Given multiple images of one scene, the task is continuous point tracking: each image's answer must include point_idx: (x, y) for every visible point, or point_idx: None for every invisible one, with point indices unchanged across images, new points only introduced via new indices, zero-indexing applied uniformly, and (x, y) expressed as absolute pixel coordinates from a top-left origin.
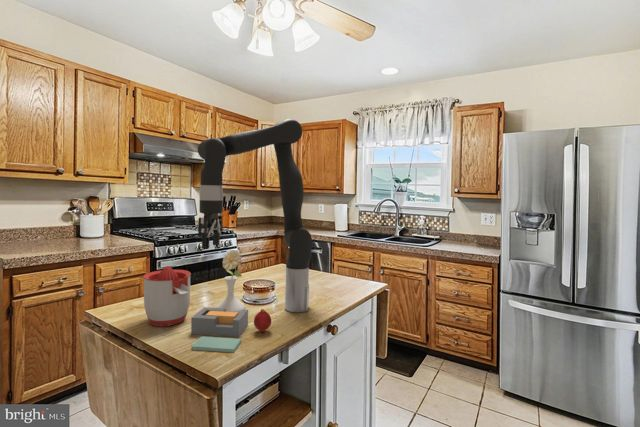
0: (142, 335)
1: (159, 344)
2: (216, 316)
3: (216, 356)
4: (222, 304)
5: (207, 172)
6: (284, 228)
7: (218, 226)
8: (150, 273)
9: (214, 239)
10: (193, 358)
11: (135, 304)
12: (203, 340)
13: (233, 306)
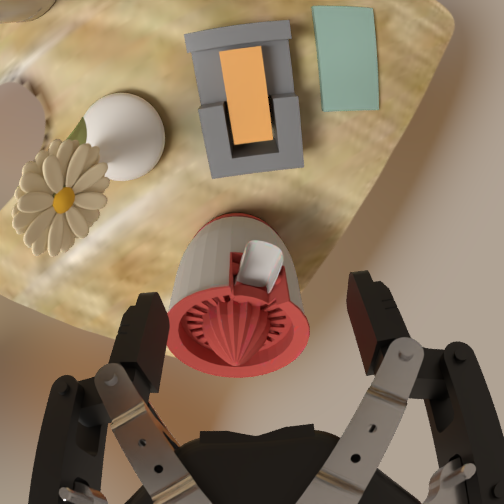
0: (324, 244)
1: (360, 187)
2: (277, 100)
3: (394, 41)
4: (141, 155)
5: None
6: None
7: (170, 444)
8: (236, 373)
9: (158, 348)
10: (409, 86)
11: None
12: (345, 95)
13: (135, 117)
